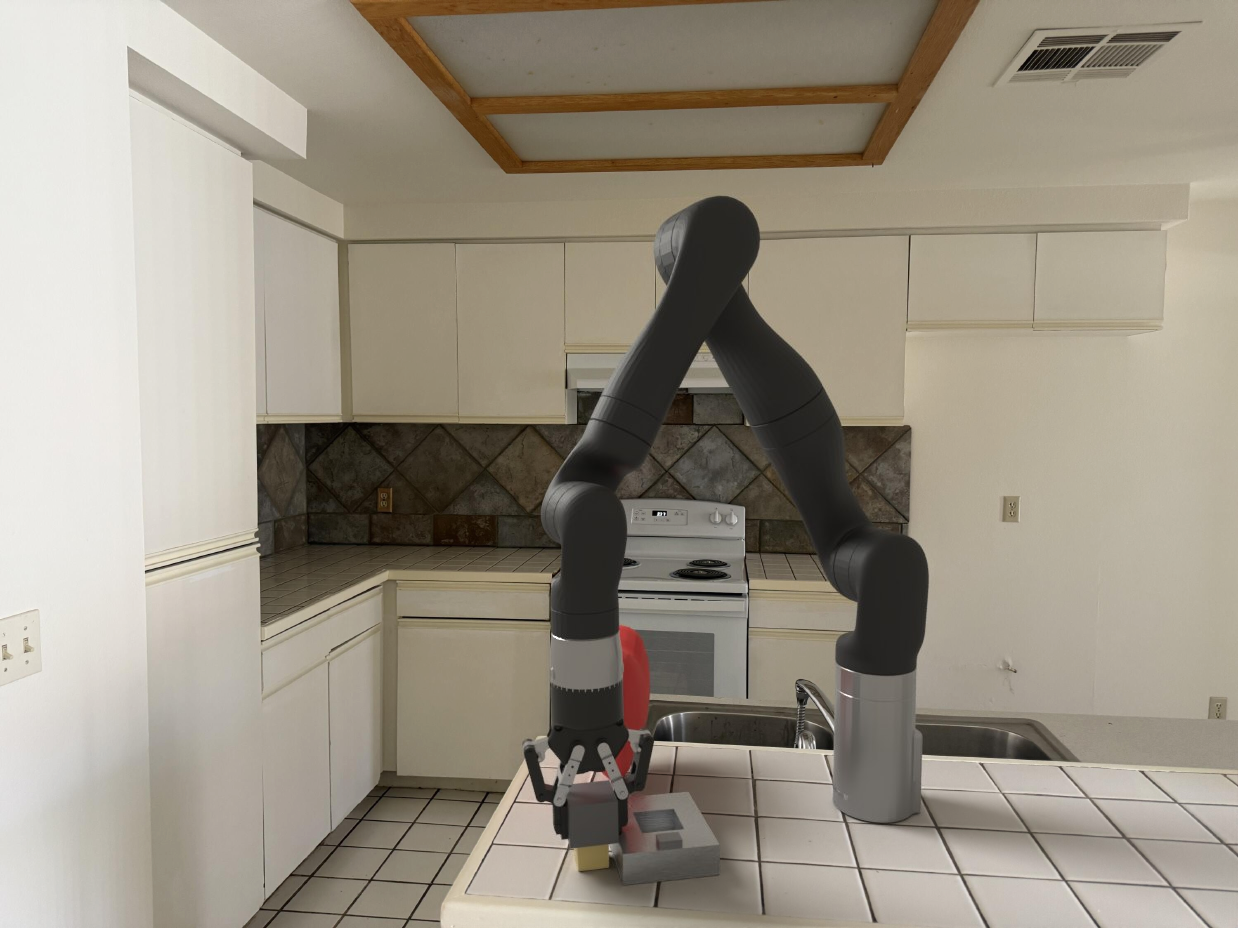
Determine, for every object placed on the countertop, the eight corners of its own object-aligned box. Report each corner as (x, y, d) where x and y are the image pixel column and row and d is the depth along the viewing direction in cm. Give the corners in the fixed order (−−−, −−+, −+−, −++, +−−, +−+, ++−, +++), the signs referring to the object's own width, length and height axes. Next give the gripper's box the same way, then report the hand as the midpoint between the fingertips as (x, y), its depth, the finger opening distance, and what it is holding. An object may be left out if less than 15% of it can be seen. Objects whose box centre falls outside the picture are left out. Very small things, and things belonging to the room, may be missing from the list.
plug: (610, 846, 92) (609, 779, 91) (619, 870, 87) (617, 801, 86) (564, 851, 91) (563, 784, 90) (570, 876, 86) (569, 806, 85)
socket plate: (688, 818, 98) (688, 785, 98) (719, 874, 86) (719, 837, 86) (603, 826, 96) (603, 793, 96) (623, 884, 85) (623, 847, 84)
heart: (640, 819, 98) (640, 660, 96) (566, 815, 99) (565, 657, 98) (655, 750, 118) (655, 617, 116) (594, 746, 119) (594, 615, 117)
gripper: (646, 657, 92) (649, 808, 94) (514, 668, 90) (519, 822, 91) (662, 680, 85) (665, 842, 86) (519, 692, 82) (524, 859, 84)
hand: (590, 831), depth 89 cm, fingers closed on plug, 5 cm apart
